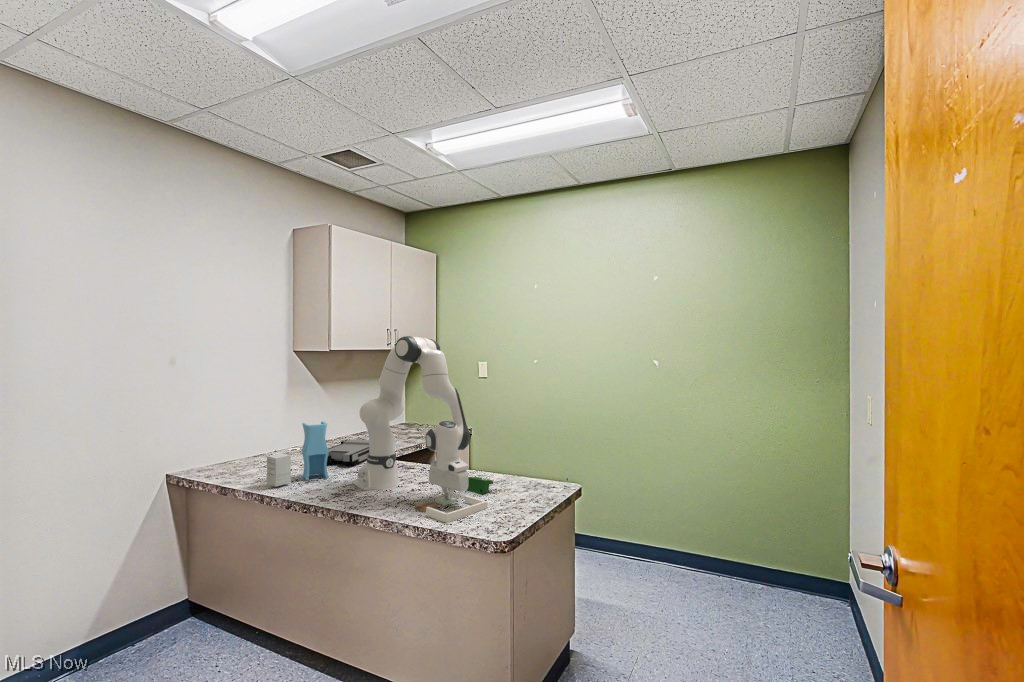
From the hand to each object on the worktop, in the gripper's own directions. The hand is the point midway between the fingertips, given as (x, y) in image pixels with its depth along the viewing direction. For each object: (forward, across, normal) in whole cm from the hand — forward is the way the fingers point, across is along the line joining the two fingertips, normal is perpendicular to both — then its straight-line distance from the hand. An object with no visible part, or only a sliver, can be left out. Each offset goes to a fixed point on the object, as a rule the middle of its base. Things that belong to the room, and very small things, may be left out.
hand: (447, 498), depth 201 cm
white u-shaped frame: (+2, +11, -5) cm, 12 cm away
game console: (+2, -96, +12) cm, 96 cm away
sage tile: (+2, -1, 0) cm, 2 cm away
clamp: (+3, -3, +18) cm, 18 cm away
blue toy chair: (+2, -77, -16) cm, 79 cm away
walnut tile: (+2, -1, -10) cm, 10 cm away
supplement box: (+2, -77, -33) cm, 84 cm away
